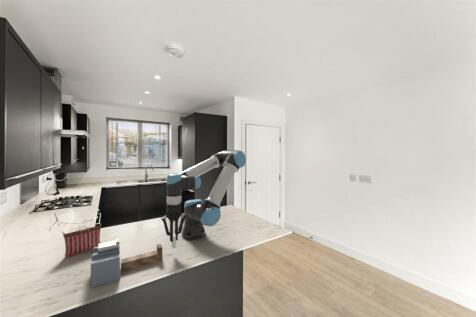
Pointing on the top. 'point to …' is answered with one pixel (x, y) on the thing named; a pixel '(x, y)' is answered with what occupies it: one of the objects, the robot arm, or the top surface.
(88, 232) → the handbag
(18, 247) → the top surface
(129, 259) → the wooden bar
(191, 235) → the robot arm
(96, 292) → the top surface
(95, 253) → the block
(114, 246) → the keeper
